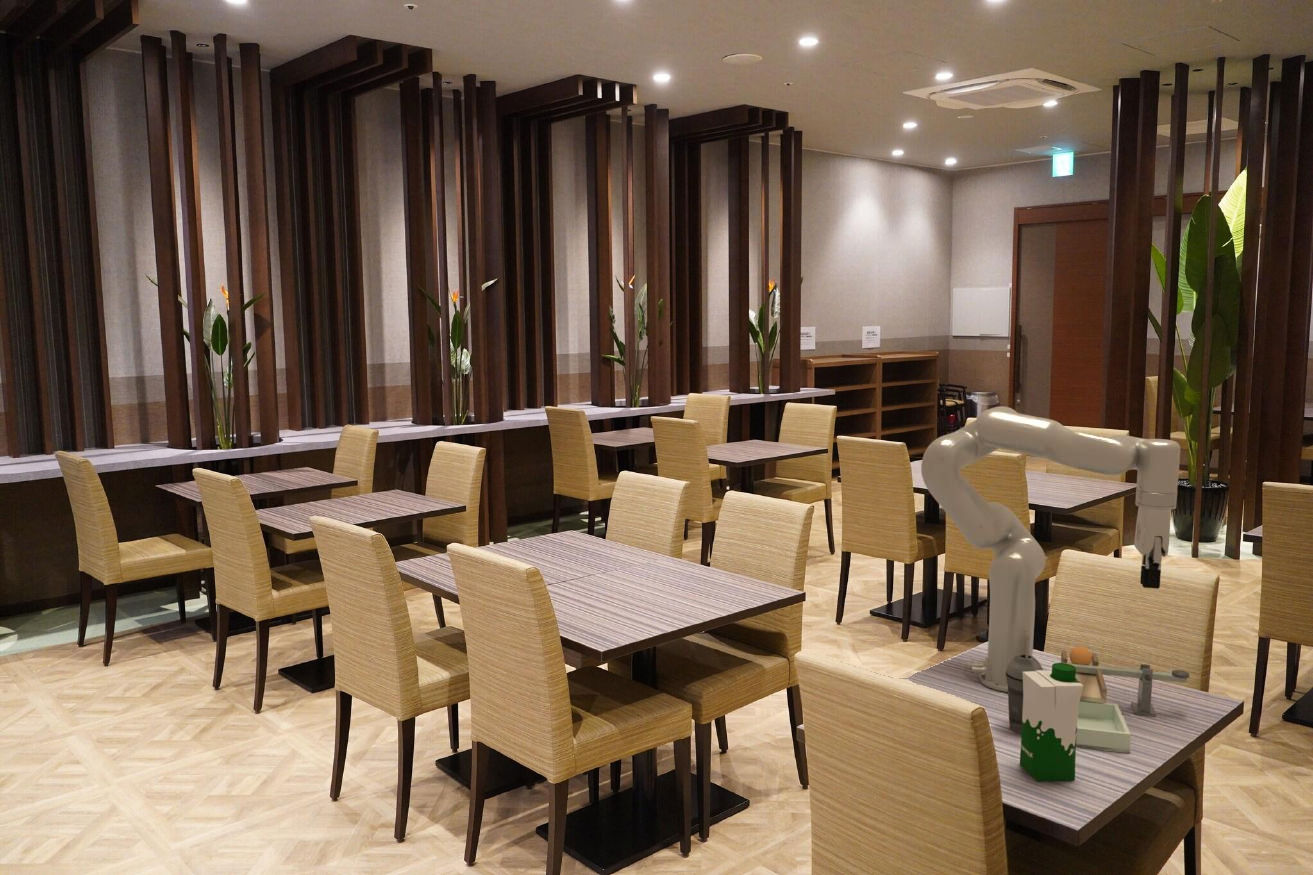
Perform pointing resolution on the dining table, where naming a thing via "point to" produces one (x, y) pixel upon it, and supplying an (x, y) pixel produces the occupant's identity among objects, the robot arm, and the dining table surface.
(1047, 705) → the milk carton
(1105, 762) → the dining table surface
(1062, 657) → the ramp
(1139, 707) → the pivot stand
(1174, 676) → the lever
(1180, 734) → the dining table surface
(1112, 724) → the shallow mint tray
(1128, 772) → the dining table surface
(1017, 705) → the beverage cup
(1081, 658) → the ball
